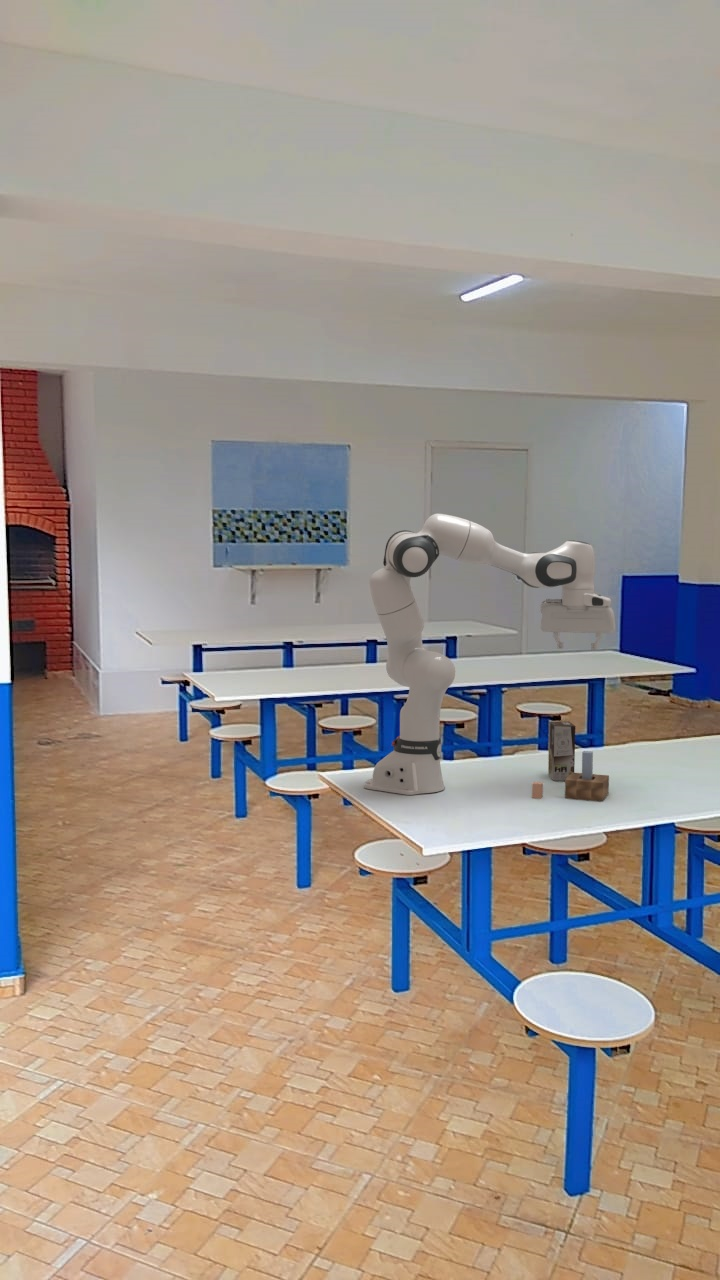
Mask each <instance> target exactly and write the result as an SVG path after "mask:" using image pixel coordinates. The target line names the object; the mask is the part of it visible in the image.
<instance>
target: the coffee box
mask: <svg viewBox="0 0 720 1280" xmlns="http://www.w3.org/2000/svg"><path fill="white" fill-rule="evenodd" d="M575 750H576V726H575V724H573V723H572V722H570V721H549V722H548V764H547V765H548V776H549V777H550V778H551V780H552V781H558V782H559V781H562V782H563V781H564V782H565V780H566V778H567V777H568V776H569V775H570V774H571V773H575V759H576V758H575V757H576V753H575V752H576V751H575Z"/></svg>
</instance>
